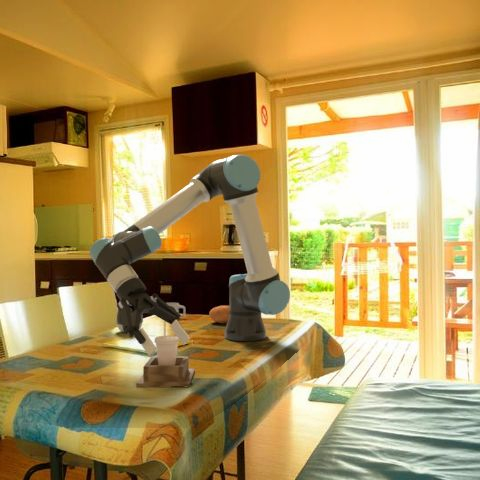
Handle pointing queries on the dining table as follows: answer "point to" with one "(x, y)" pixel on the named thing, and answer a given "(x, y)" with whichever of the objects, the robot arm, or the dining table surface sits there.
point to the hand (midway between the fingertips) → (170, 346)
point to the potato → (220, 314)
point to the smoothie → (166, 349)
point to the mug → (177, 308)
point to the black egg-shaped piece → (119, 321)
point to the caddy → (166, 374)
